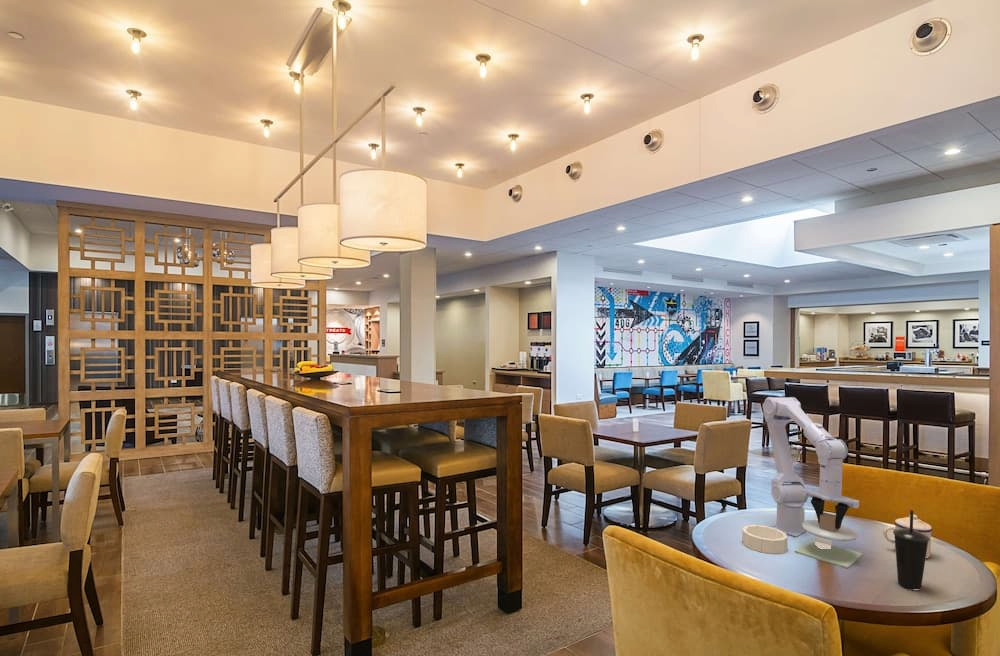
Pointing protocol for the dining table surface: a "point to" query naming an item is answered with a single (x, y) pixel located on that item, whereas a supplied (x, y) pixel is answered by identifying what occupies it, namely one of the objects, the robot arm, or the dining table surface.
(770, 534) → the bowl
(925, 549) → the drinking cup
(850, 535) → the cover
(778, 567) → the dining table surface
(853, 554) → the mat
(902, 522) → the teacup with lid
